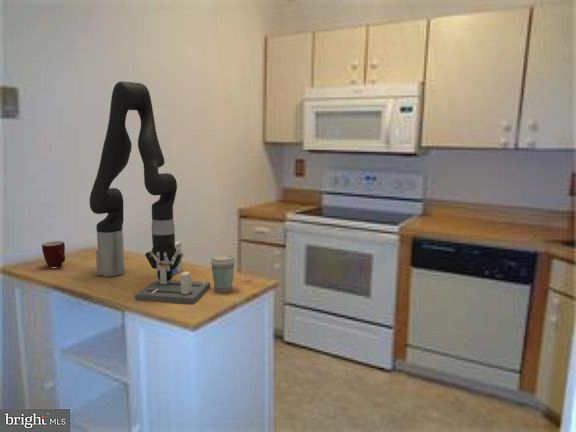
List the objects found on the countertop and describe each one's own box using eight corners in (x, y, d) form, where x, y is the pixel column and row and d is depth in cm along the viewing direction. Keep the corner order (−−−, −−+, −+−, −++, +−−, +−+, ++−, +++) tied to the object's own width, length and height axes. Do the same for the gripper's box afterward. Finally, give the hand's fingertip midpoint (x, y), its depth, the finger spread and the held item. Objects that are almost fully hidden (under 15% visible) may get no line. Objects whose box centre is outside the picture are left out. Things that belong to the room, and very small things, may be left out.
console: (135, 300, 145) (135, 294, 145) (157, 284, 160) (157, 278, 160) (193, 304, 142) (193, 297, 141) (210, 287, 157) (210, 282, 157)
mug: (75, 266, 181) (73, 243, 180) (58, 272, 174) (55, 247, 172) (57, 263, 186) (55, 240, 184) (39, 268, 178) (37, 244, 177)
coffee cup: (225, 296, 149) (224, 261, 147) (205, 291, 154) (205, 257, 152) (240, 288, 156) (240, 255, 154) (222, 284, 161) (221, 252, 159)
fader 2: (181, 293, 144) (180, 274, 143) (185, 290, 148) (184, 271, 146) (187, 294, 144) (187, 274, 143) (191, 290, 147) (190, 271, 146)
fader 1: (160, 283, 154) (159, 265, 153) (164, 281, 157) (163, 263, 156) (166, 284, 154) (165, 266, 152) (170, 281, 157) (169, 263, 156)
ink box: (173, 275, 171) (171, 246, 168) (161, 275, 172) (159, 245, 169) (182, 269, 179) (181, 241, 177) (171, 268, 180) (170, 240, 178)
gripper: (139, 233, 150) (141, 282, 153) (178, 235, 147) (179, 284, 150) (149, 228, 157) (151, 275, 160) (186, 230, 155) (188, 278, 158)
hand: (165, 280), depth 155 cm, fingers closed on fader 1, 2 cm apart
